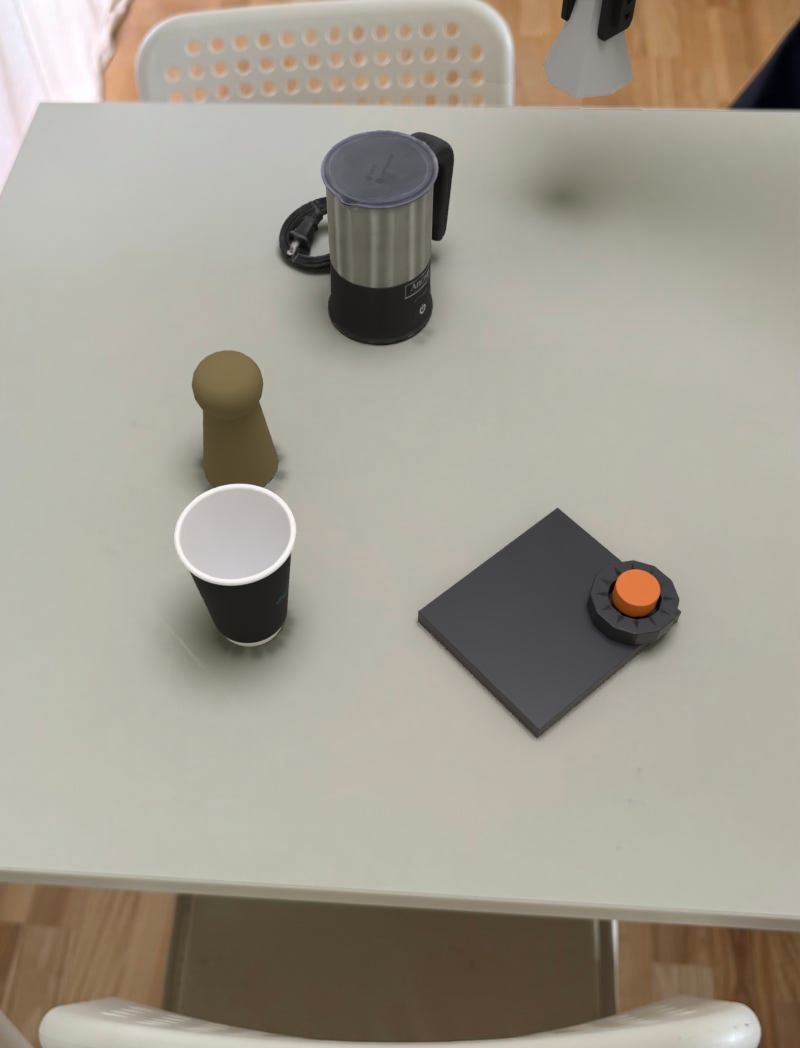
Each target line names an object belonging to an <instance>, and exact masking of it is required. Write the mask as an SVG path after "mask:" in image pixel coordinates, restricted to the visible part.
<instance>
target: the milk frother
mask: <svg viewBox="0 0 800 1048" xmlns="http://www.w3.org/2000/svg"><path fill="white" fill-rule="evenodd" d="M454 152H455V151H454V149H453V147H452V145H450V143H449V142H448V141H446V140H444V139H442V138H441V137H439V136H436V135H434V134H430V133H427V132H423V131H417V132H414V133H411V134H409V133H405V132H401V131H394V130H386V129H385V130H381V129H378V130H371V131H364V132H360V133H359V132H358V133H355V134H352V135H349V136H348V137H346V138H344V139H342V140H340V141H339V142H337V143H335V144H334V145H333V146H331V148H330V149H329V150H328V152H327V153H326V154H325V156H324V157H323V160H322V162H321V165H320V176H321V179H322V183H323V184H324V186H325V196H323V197H319V198H316V199H314V200H310V201H308V202H306V203H304V204H302V205H300V206H299V207H298V208H296V209H295V210H293V211H292V212H291V213H290V214H289V215H288V216H287V217H286V219H285V220H284V222H283V223H282V225H281V228H280V232H279V235H278V244H279V248H280V250H281V251H280V252H281V253H282V255H283V256H284V257H285V259H286V260H287V261H289V262H290V264H293V265H294V266H296V267H297V268H298V267H299V268H301V269H304V270H307V271H316V272H318V271H319V272H320V271H324V270H329V272H330V277H329V278H330V294H329V297H328V302H327V311H328V314H329V318H330V320H331V322H332V324H334V326H335V327H336V328H337V329H338V330H339V331H340V332H341V333H343V334H344V335H346V336H347V337H348V338H350V339H353V340H356V341H358V342H362V343H366V344H377V345H378V344H379V345H380V344H383V345H385V344H391V343H397V342H401V341H404V340H407V339H408V338H411V337H413V336H414V335H415V334H417V333H418V332H419V331H421V330H422V329H423V328H424V327H425V326H426V324H427V323H428V322H429V320H430V318H431V317H432V316H431V315H432V313H433V308H434V301H433V295H432V293H431V291H432V290H431V263H432V261H431V260H432V244H433V243H432V241H434V242H440V241H442V240H443V238H444V236H445V235H446V232H447V227H448V218H449V209H450V200H451V192H452V183H453V175H454V165H455V153H454ZM324 216H327V217H326V218H327V234H328V249H329V253H327V254H322V255H315V256H312V255H306V254H302V253H301V252H299V250H301V251H303V252H306V253H310V252H311V245H312V244H313V241H314V238H315V235H316V233H317V232H318V231H319V230H320V228H319V224H320V223H321V222H322V221H323V219H324Z"/></svg>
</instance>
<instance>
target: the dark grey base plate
mask: <svg viewBox="0 0 800 1048" xmlns="http://www.w3.org/2000/svg"><path fill="white" fill-rule="evenodd" d="M633 569H638V570H643V571H646V572H648V573H650V574H651V575H653V576H654V577H655V578H656V580H657V581H658V583H659V585H660V596H659V598H658V601H657V603H656V606H655V608H654V609H653V611H652V612H651V613H649V614H647V615H645V616H642V617H631V616H628V615H625V614H623V613H622V612H620V611H619V610H618V609H617V608H616V606H615V605H614V603H613V600H612V593H613V590H614V587H615V584H616V581H617V579H618V577H619V576H620V575H621V574H622V573H624V572H626V571H628V570H633ZM679 605H680V596H679V593H678V592H677V589H676V587H675V584H674V582H673V580H672V579H671V578H670V577H668V576H667V575H666V574H665V573H664V572H663V571H661V570H660V569H659V568H657V566H656V565H652V564H648V563H645V562H642V561H638V560H635V559H632V560H625V561H622V560H621V559H620V558H618V557H617V556H616V555H615V554H614V553H612V552H611V551H610V550H609V549H608V548H607V547H606V546H604V545H603V544H602V543H601V542H599V541H598V540H597V539H596V538H594V537H593V535H591V534H590V533H589V532H588V531H586V530H585V529H584V528H583V527H582V526H580V525H579V524H578V523H577V522H576V521H574V520H573V518H571V517H569V516H568V514H567V513H565V512H564V511H563V510H561V509H560V508H559V507H556V508H555V509H553V510H552V511H550V512H549V513H548V514H547V515H545V516H544V517H542V519H540V520H539V521H537V522H536V523H534V524H533V525H532V526H531V527H529V528H528V529H527V530H525V531H524V532H522V533H521V534H520V535H519V536H517V537H516V538H514V539H513V540H512V541H511V542H509V543H508V544H506V545H505V546H504V547H503V548H501V549H500V550H498V551H497V552H496V553H494V554H493V555H492V556H490V557H489V558H487V560H485V561H483V562H482V563H481V564H480V565H479V566H477V567H475V569H473V570H472V571H470V572H469V573H468V574H466V575H465V576H463V577H462V578H461V579H459V580H458V581H457V582H455V583H454V584H453V585H451V586H450V587H449V588H448V589H446V590H445V591H443V592H442V593H441V594H439V595H438V596H437V597H435V598H434V599H433V600H432V601H430V602H429V603H427V604H426V605H424V606H423V607H422V608H421V609H420V610H418V611H417V622H418V623H419V624H420V625H421V626H422V627H423V628H424V629H425V630H426V631H427V632H428V633H429V634H430V635H431V636H432V637H433V638H434V639H435V640H437V642H438V643H440V644H441V645H442V647H444V648H445V649H446V651H448V652H449V654H451V655H452V656H453V657H454V658H455V659H456V660H457V661H458V662H459V663H460V664H461V665H462V666H463V667H464V668H465V669H466V670H467V671H468V672H469V673H470V674H471V676H473V677H474V678H475V679H477V681H478V682H479V683H480V684H482V686H483V687H484V688H485V689H487V691H488V692H489V693H491V695H492V696H493V697H494V698H495V699H496V700H497V701H499V703H501V704H502V705H503V706H504V708H506V710H507V711H508V712H510V713H511V714H512V715H513V716H514V717H515V718H516V719H517V720H518V722H520V723H521V724H522V725H523V726H524V727H525V728H526V729H527V730H528V731H529V732H530V733H531V734H532V735H533V736H534V737H535V738H536V739H538V738H540V736H542V735H543V734H545V732H547V731H548V730H549V729H550V728H551V727H553V726H554V725H555V724H556V723H558V721H560V720H561V719H562V718H563V717H564V716H566V715H567V714H569V712H571V711H572V710H573V709H575V707H577V706H578V705H579V704H580V703H581V702H582V701H584V700H585V699H586V698H587V697H588V696H590V695H591V694H592V693H593V692H594V691H596V690H597V689H598V688H599V687H601V686H602V685H603V684H604V683H605V682H607V681H608V680H609V679H610V678H611V677H612V676H614V675H615V674H616V673H617V672H619V671H620V670H621V669H622V668H623V667H625V666H626V665H627V664H628V663H629V662H631V660H633V659H634V658H635V657H637V656H638V655H639V654H640V653H642V651H644V650H645V649H647V647H649V646H650V645H651V644H652V643H655V642H657V641H658V640H659V639H661V638H662V637H663V636H664V635H666V634H667V633H668V632H669V631H670V630H671V629H672V627H673V626H674V625H675V624H676V623H678V620H679V618H680V616H681V614H682V611H681V610H680V609H679Z"/></svg>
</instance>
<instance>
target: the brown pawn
mask: <svg viewBox="0 0 800 1048" xmlns="http://www.w3.org/2000/svg"><path fill="white" fill-rule="evenodd" d="M191 379H192V381H191V389H192V393H193V397H194V400H195V402H196V403H197V405H198V406H199V407H200V408H201V410H202V462H203V464H202V465H203V466H202V467H203V472H204V477H205V478H206V479H207V480H208V482H209V483H210V485H211V486H213V487H214V488H216V487H219V486H223V485H229V484H250V485H255V486H259V487H262V488H264V487H265V486H267V485H268V484H269V483H270V481H272V480H273V479H274V477H275V475H276V473H277V472H278V469H279V456H278V452H277V450H276V447H275V444H274V441H273V438H272V435H271V431H270V429H269V426H268V423H267V420H266V417H265V415H264V411H263V409H262V406H261V402H260V401H261V399H262V395H263V391H264V377H263V374H262V371H261V369H260V367H259V365H258V364H257V362H256V361H255V360H254V359H253V358H251V357H250V356H248V355H247V354H245V353H243V352H241V351H238V350H232V349H231V350H230V349H229V350H228V349H226V350H225V349H224V350H219V351H215V352H213V353H211V354H208V355H206V356H205V357H204V358H203V359H202V360H201V361H200V362H199V363H198V364H197V366H196V367H195V369H194V371H193V373H192V378H191Z"/></svg>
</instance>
